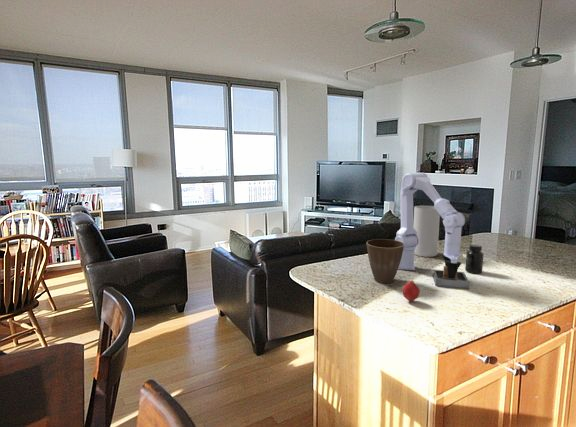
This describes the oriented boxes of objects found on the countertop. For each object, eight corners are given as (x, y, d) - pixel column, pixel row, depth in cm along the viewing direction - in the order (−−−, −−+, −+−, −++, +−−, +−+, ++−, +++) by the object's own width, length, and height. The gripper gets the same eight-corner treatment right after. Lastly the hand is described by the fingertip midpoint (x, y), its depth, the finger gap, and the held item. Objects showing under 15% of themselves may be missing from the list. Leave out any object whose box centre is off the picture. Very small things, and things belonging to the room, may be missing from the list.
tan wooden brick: (443, 281, 145) (444, 266, 144) (442, 279, 146) (443, 265, 146) (456, 282, 144) (457, 268, 143) (456, 281, 145) (457, 266, 144)
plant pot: (401, 288, 139) (403, 249, 136) (362, 284, 144) (364, 245, 141) (403, 276, 152) (404, 240, 150) (368, 273, 158) (369, 237, 155)
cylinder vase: (439, 253, 190) (442, 206, 186) (434, 258, 179) (437, 209, 175) (415, 249, 196) (417, 205, 192) (409, 255, 186) (411, 207, 182)
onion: (399, 298, 129) (400, 277, 128) (414, 298, 129) (415, 277, 128) (405, 305, 123) (406, 283, 122) (421, 304, 124) (423, 282, 122)
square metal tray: (435, 286, 141) (435, 278, 141) (432, 276, 153) (433, 269, 152) (468, 289, 138) (469, 281, 137) (463, 279, 149) (463, 272, 149)
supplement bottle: (484, 274, 155) (486, 247, 153) (467, 273, 156) (469, 247, 154) (479, 269, 161) (481, 244, 159) (463, 268, 163) (465, 243, 161)
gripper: (466, 248, 135) (464, 282, 137) (460, 239, 148) (458, 270, 150) (446, 246, 137) (444, 280, 139) (442, 238, 150) (440, 269, 152)
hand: (450, 275), depth 145 cm, fingers open, 6 cm apart
